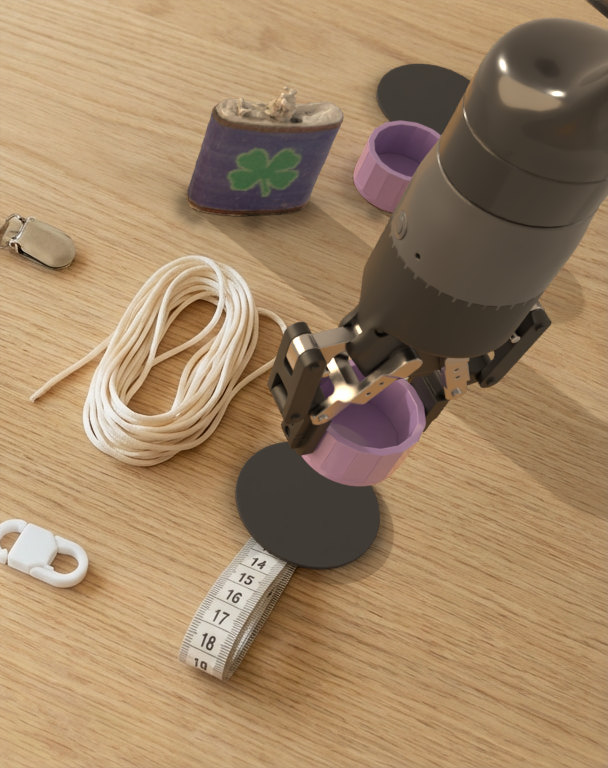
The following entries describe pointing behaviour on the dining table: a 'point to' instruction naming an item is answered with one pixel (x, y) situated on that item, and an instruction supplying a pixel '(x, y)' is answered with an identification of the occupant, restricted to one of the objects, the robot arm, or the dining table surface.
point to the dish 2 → (369, 435)
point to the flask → (262, 155)
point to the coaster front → (304, 510)
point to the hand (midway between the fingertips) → (353, 430)
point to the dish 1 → (392, 161)
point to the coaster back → (421, 94)
